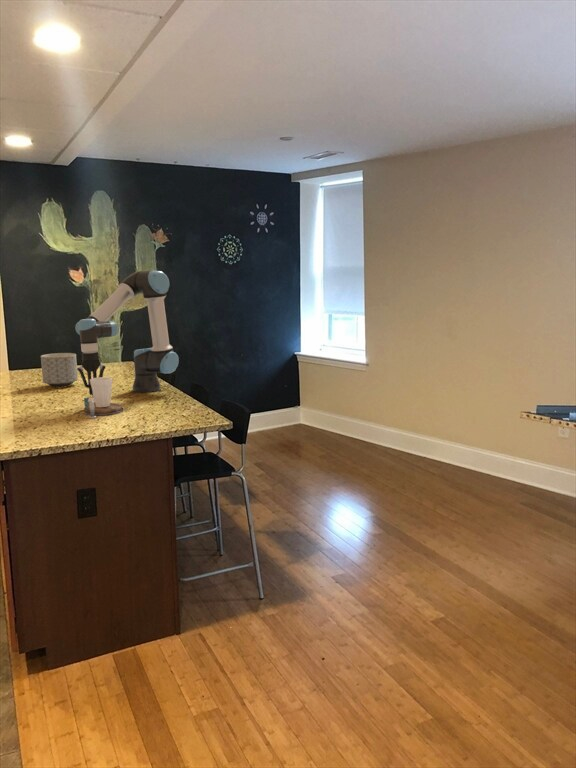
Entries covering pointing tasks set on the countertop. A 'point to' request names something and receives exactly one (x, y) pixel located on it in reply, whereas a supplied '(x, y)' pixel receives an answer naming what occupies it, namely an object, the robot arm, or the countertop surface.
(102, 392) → the cup
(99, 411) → the brown and teal disc
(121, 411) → the base
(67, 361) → the planter
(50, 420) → the countertop surface
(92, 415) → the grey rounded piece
